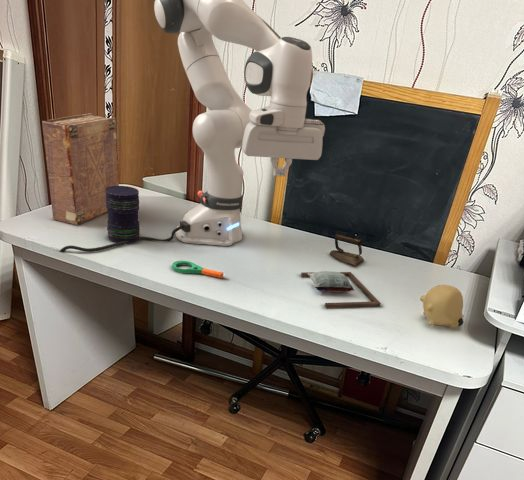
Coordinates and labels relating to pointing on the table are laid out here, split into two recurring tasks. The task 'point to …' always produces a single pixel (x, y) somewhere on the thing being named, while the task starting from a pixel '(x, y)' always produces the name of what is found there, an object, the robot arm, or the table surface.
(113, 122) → the book
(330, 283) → the packaged food
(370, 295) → the bay
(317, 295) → the table surface
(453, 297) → the toy pig
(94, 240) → the table surface
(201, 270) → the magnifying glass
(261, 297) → the table surface
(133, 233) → the dark blue cylinder
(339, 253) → the clothes iron
